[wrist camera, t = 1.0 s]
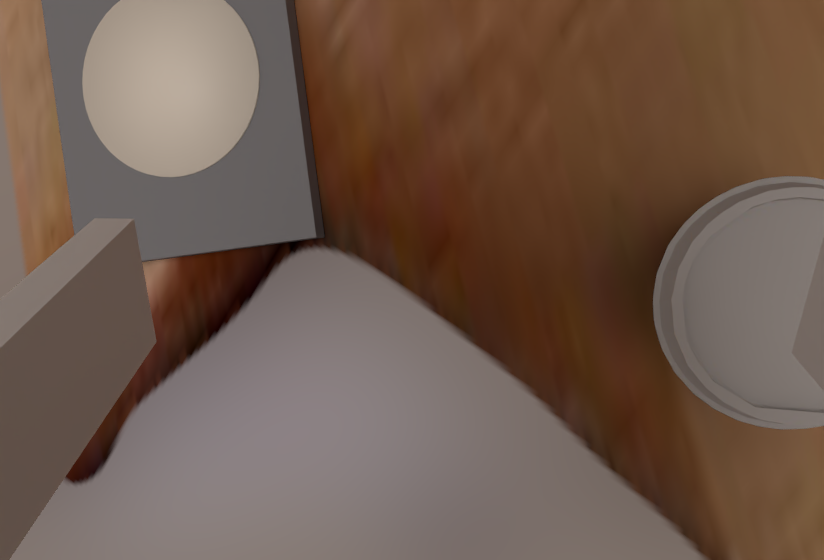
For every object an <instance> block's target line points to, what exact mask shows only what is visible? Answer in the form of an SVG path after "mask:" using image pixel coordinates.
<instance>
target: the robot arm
mask: <svg viewBox="0 0 824 560" xmlns="http://www.w3.org/2000/svg"><path fill="white" fill-rule="evenodd" d="M155 343H156V337H155V332H154V326H153V321H152V315H151V310H150V304H149V299H148V293H147V288H146V282H145V277H144V271H143V266H142V260H141V255H140V249H139V244H138V238H137V233H136V227H135V222H134V219H117V218H94V219H93V220H92V221H91V222H90V223H89V224H87V225H86V226H85V227H84V228H83V229H81V230H80V231H79V232H78V233H77V234H76V235H74V236H73V237H72V238H71V239H70V240H69V241H67V242H66V243H65V244H64V245H63V246H62V247H60V248H59V249H58V250H57V251H56V252H55V253H53V254H52V255H51V256H50V257H49V258H48V259H46V260H45V261H44V262H43V263H42V264H41V265H39V266H38V267H37V268H36V269H35V270H33V271H32V272H31V273H30V274H29V275H28V276H26V277H25V278H24V279H23V280H22V281H21V282H19V283H18V284H17V285H16V286H15V287H14V288H13V289H11V290H10V291H9V292H8V293H7V294H5V295H4V296H3V297H2V298H1V299H0V560H9V559H10V558H11V556H12V555H13V553H14V552H15V550H16V549H17V547H18V546H19V544H20V543H21V541H22V540H23V539H24V537H25V536H26V534H27V533H28V531H29V530H30V528H31V527H32V525H33V524H34V522H35V521H36V519H37V517H38V516H39V515H40V513H41V512H42V510H43V509H44V507H45V506H46V504H47V503H48V501H49V500H50V499H51V497H52V496H53V494H54V493H55V491H56V490H57V488H58V486H59V485H60V484H61V482H62V481H63V479H64V478H65V476H66V475H67V473H68V472H69V470H70V469H71V467H72V466H73V464H74V463H75V461H76V460H77V459H78V457H79V456H80V454H81V453H82V451H83V450H84V448H85V447H86V445H87V444H88V442H89V441H90V439H91V438H92V436H93V435H94V433H95V432H96V430H97V429H98V427H99V426H100V424H101V423H102V421H103V420H104V419H105V417H106V416H107V414H108V413H109V411H110V410H111V408H112V407H113V405H114V404H115V402H116V401H117V399H118V398H119V396H120V395H121V393H122V392H123V390H124V389H125V387H126V386H127V384H128V383H129V381H130V380H131V378H132V377H133V376H134V374H135V373H136V371H137V370H138V368H139V367H140V365H141V364H142V362H143V361H144V359H145V358H146V356H147V355H148V353H149V352H150V350H151V349H152V347H153V346H154V344H155ZM792 354H793V355H794V356H795V358H796V359H797V360H798V361H799V362H800V364H801V365H802V366H803V367H804V368H805V370H806V371H807V372H808V373H809V374H810V376H811V377H812V378H813V379H814V380H815V382H816V383H817V384H818V385H819V387H820V388H821V389H822V390H823V391H824V237H823V241H822V244H821V248H820V252H819V255H818V259H817V263H816V266H815V270H814V273H813V277H812V281H811V284H810V288H809V292H808V295H807V299H806V302H805V306H804V310H803V313H802V317H801V321H800V324H799V328H798V331H797V335H796V339H795V342H794V346H793V350H792Z"/></svg>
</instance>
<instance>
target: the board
mask: <svg viewBox="0 0 824 560" xmlns="http://www.w3.org/2000/svg"><path fill="white" fill-rule="evenodd" d="M41 1H42V8H43V15H44V22H45V29H46V36H47V43H48V50H49V58H50V65H51V72H52V79H53V86H54V93H55V100H56V107H57V114H58V121H59V129H60V136H61V143H62V150H63V157H64V164H65V171H66V178H67V185H68V192H69V200H70V207H71V214H72V221H73V228H74V235H76V234H77V233H78V232H79V231H80V230H81V229H83V228H84V227H85V226H86V225H87V224H89V223H90V222H91V221H92V220H93V219H94V218H117V219H134V222H135V227H136V233H137V238H138V244H139V249H140V255H141V260H142V262H146V261H154V260H161V259H168V258H176V257H183V256H191V255H198V254H205V253H213V252H220V251H227V250H235V249H242V248H250V247H257V246H264V245H272V244H279V243H287V242H294V241H301V240H309V239H316V238H324V237H325V235H324V228H323V220H322V212H321V204H320V197H319V189H318V181H317V174H316V166H315V158H314V151H313V143H312V135H311V127H310V120H309V112H308V104H307V97H306V89H305V81H304V74H303V66H302V58H301V50H300V43H299V35H298V27H297V20H296V12H295V4H294V0H41Z"/></svg>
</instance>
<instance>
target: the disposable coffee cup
mask: <svg viewBox="0 0 824 560" xmlns="http://www.w3.org/2000/svg"><path fill="white" fill-rule="evenodd" d="M823 237H824V180H823V179H818V178H813V177H797V176H782V177H774V178H765V179H760V180H757V181H754V182H750V183H747V184H744V185H741V186H737V187H735V188H733V189H731V190H729V191H727V192H725V193H723V194H721V195H719V196H717V197H715V198H714V199H712V200H711V201H709V202H708V203H706V204H705V205H703V206H702V207H701V208H700V209H698V210H697V211H696V212H695V213H694V214H693V215H692V216H691V217H690V218H689V219H688V220H687V221H686V222H685V223H684V224H683V225H682V227H681V228H680V229H679V231H678V232H677V233H676V235H675V236H674V238H673V239H672V240H671V242H670V243H669V245H668V247H667V249H666V252H665V254H664V257H663V259H662V262H661V264H660V266H659V269H658V271H657V275H656V281H655V286H654V292H653V317H654V324H655V328H656V332H657V336H658V339H659V342H660V345H661V348H662V350H663V352H664V354H665V356H666V357H667V359H668V361H669V363H670V365H671V367H672V369H673V370H674V372H675V373H676V375H677V376H678V377H679V378H680V379H681V380H682V381H683V382H684V383H685V385H686V386H687V387H688V388H689V389H690V390H691V391H692V392H693V394H695V395H696V396H697V397H699V398H700V399H701V400H703V401H704V402H705V403H707V404H708V405H709V406H711V407H712V408H713V409H715V410H717V411H719V412H721V413H723V414H726V415H728V416H730V417H732V418H734V419H736V420H738V421H742V422H745V423H749V424H752V425H756V426H759V427H767V428H774V429H807V428H813V427H819V426H824V391H823V390H822V389H821V388H820V387H819V385H818V384H817V383H816V382H815V380H814V379H813V378H812V377H811V376H810V374H809V373H808V372H807V371H806V370H805V368H804V367H803V366H802V365H801V364H800V362H799V361H798V360H797V359H796V358H795V356H794V355H793V354H792V350H793V346H794V342H795V339H796V335H797V331H798V328H799V324H800V321H801V317H802V313H803V310H804V306H805V302H806V299H807V295H808V292H809V288H810V284H811V281H812V277H813V273H814V270H815V266H816V263H817V259H818V255H819V252H820V248H821V244H822V241H823Z"/></svg>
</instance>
